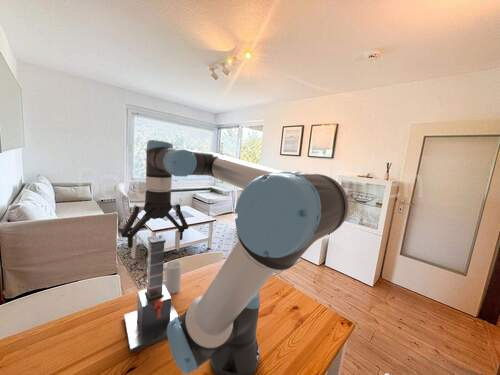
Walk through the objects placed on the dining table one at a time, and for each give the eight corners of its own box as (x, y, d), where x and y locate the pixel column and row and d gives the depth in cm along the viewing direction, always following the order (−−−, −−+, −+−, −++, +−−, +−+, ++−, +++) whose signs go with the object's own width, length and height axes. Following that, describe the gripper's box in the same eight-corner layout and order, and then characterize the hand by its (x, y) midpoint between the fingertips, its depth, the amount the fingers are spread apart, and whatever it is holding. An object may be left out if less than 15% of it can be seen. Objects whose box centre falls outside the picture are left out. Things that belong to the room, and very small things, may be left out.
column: (162, 301, 71) (165, 240, 69) (148, 305, 69) (150, 242, 66) (159, 293, 75) (162, 235, 72) (145, 297, 72) (147, 237, 69)
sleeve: (183, 331, 72) (185, 297, 70) (130, 353, 62) (131, 315, 60) (169, 303, 84) (171, 274, 83) (124, 318, 75) (124, 286, 73)
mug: (181, 285, 97) (183, 260, 95) (179, 294, 90) (180, 268, 89) (158, 285, 95) (159, 260, 93) (154, 294, 88) (155, 268, 87)
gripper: (191, 187, 77) (188, 242, 80) (111, 188, 62) (110, 255, 65) (200, 191, 71) (196, 250, 74) (113, 192, 56) (112, 266, 59)
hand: (156, 252), depth 69 cm, fingers open, 13 cm apart
